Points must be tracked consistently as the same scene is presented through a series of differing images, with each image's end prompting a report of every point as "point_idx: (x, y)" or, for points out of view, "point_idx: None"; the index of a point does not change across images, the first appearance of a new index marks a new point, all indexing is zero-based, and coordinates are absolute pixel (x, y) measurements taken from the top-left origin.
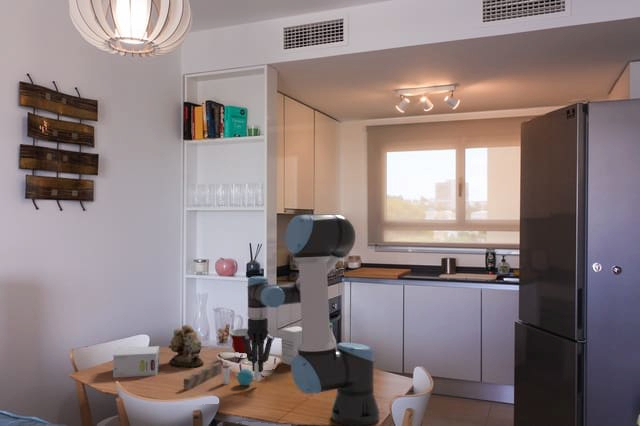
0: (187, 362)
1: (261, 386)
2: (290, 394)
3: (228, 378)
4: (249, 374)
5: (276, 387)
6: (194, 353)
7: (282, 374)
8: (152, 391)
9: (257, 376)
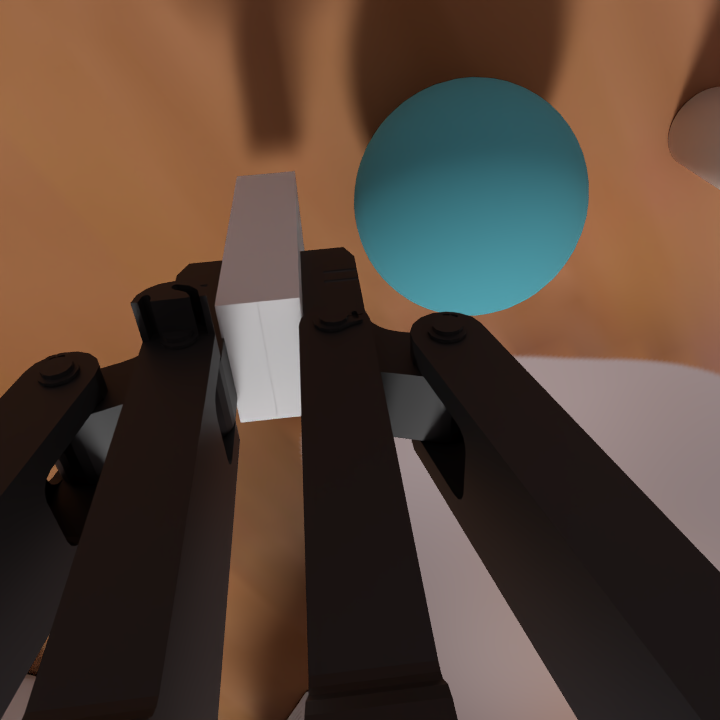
0: None
1: None
2: None
3: (708, 146)
4: (387, 200)
5: (49, 255)
6: None
7: (277, 558)
8: None
9: (240, 203)
